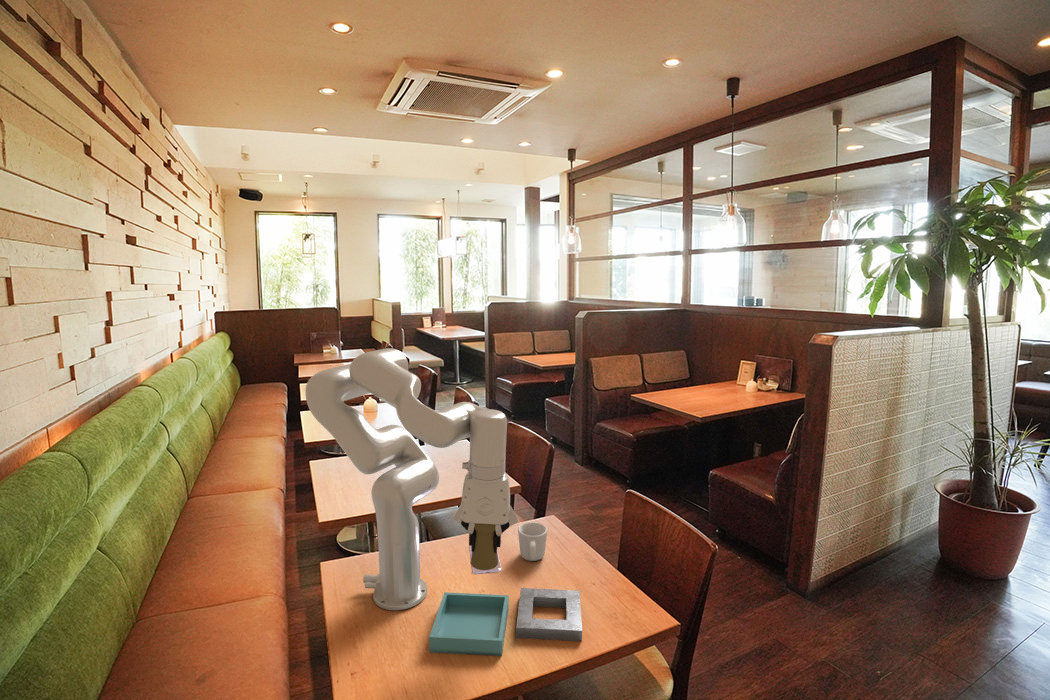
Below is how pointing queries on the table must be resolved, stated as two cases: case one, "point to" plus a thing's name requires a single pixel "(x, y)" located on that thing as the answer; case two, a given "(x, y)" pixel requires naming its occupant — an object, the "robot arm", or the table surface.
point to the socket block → (549, 627)
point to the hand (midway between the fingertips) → (484, 548)
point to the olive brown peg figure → (484, 548)
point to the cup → (532, 540)
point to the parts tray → (470, 624)
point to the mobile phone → (477, 571)
